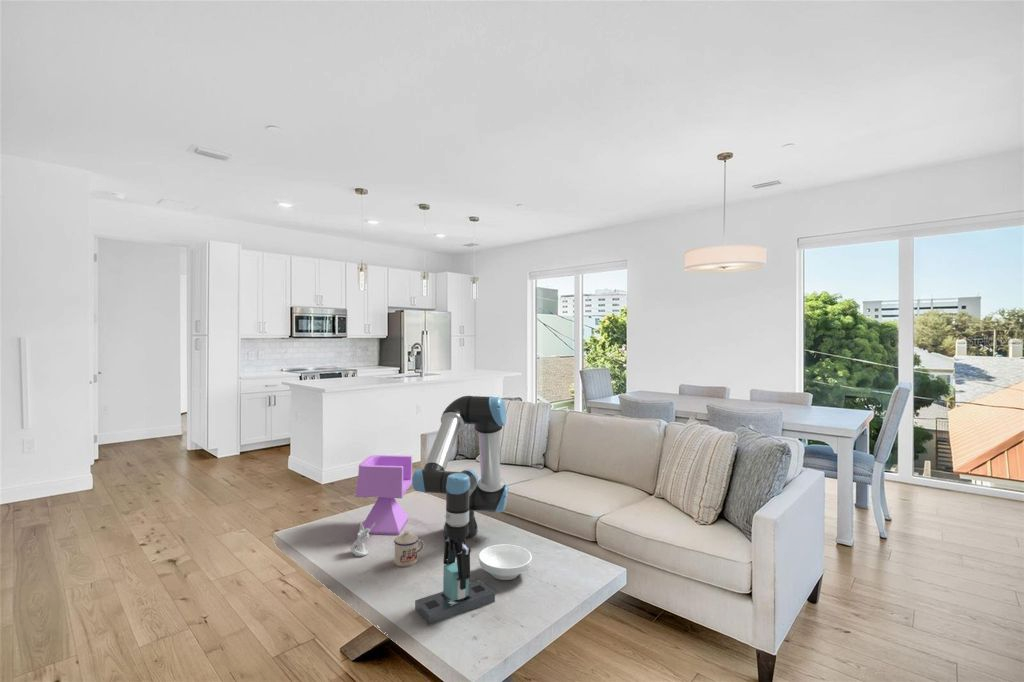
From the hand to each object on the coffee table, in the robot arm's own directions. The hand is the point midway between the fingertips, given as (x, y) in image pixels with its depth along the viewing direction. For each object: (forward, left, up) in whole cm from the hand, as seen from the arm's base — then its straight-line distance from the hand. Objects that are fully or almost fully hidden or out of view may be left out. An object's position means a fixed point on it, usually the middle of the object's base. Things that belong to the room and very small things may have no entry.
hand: (455, 593), depth 158 cm
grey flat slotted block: (0, 0, -4) cm, 4 cm away
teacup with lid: (0, -37, -4) cm, 37 cm away
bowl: (-25, -8, -4) cm, 27 cm away
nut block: (0, 0, 0) cm, 0 cm away
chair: (-4, -74, -4) cm, 74 cm away
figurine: (+12, -54, -5) cm, 56 cm away
